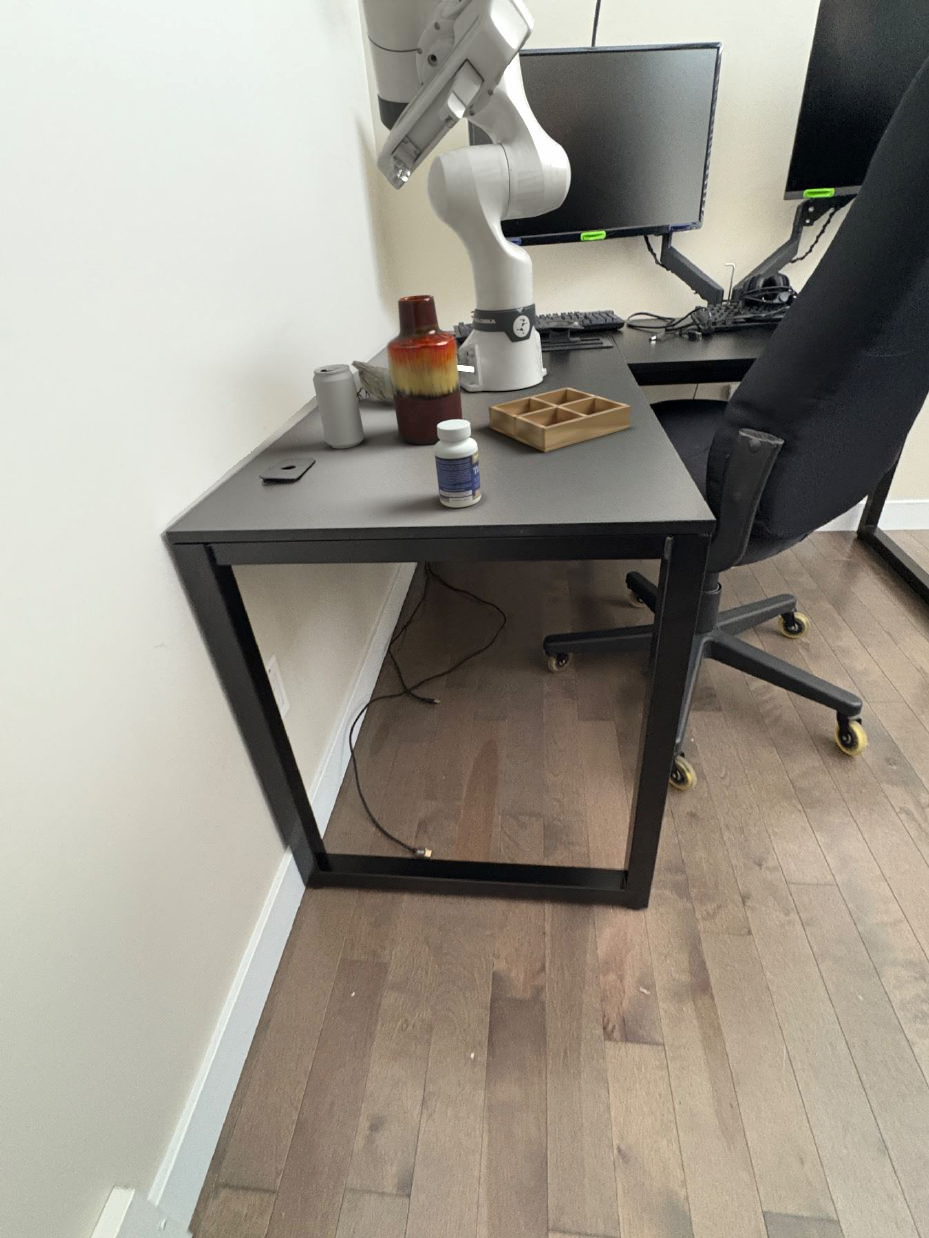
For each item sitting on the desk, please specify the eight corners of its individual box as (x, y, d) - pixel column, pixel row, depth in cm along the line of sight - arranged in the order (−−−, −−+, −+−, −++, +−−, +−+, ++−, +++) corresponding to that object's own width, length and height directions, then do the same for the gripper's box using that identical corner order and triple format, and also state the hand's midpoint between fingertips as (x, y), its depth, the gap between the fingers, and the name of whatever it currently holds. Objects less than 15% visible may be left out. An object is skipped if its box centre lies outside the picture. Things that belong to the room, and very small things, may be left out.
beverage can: (319, 446, 100) (302, 370, 94) (349, 434, 104) (335, 361, 97) (342, 452, 97) (326, 374, 90) (373, 440, 100) (359, 364, 93)
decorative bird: (406, 411, 113) (401, 370, 109) (350, 402, 122) (343, 364, 118) (426, 404, 116) (421, 363, 112) (370, 396, 125) (363, 358, 121)
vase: (474, 426, 102) (464, 291, 90) (442, 447, 94) (427, 303, 83) (421, 422, 106) (405, 293, 95) (386, 442, 99) (364, 304, 87)
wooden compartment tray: (489, 427, 101) (488, 406, 99) (567, 407, 106) (567, 387, 104) (544, 452, 89) (544, 429, 87) (629, 428, 94) (630, 405, 92)
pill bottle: (485, 505, 75) (479, 427, 70) (442, 511, 75) (434, 433, 69) (477, 489, 80) (471, 415, 74) (437, 495, 79) (428, 420, 74)
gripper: (385, 106, 70) (345, 190, 66) (502, -58, 54) (458, 40, 50) (427, 151, 74) (391, 233, 70) (548, 10, 58) (510, 106, 54)
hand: (420, 151), depth 60 cm, fingers open, 8 cm apart
